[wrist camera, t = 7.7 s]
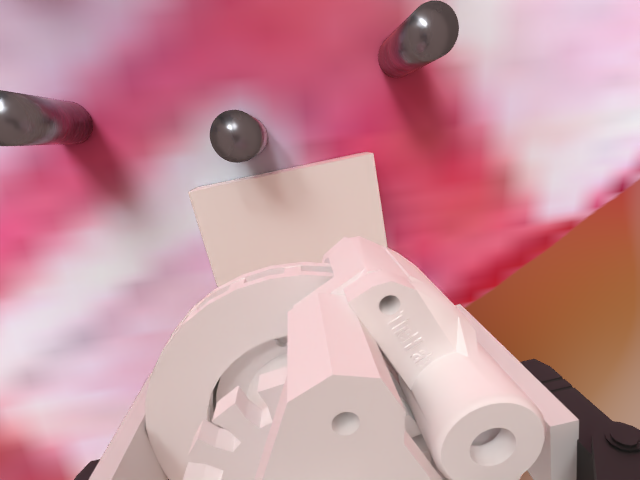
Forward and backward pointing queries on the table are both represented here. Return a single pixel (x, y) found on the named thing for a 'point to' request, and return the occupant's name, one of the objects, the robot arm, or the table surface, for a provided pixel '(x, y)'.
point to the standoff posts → (230, 126)
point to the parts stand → (288, 214)
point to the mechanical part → (336, 380)
